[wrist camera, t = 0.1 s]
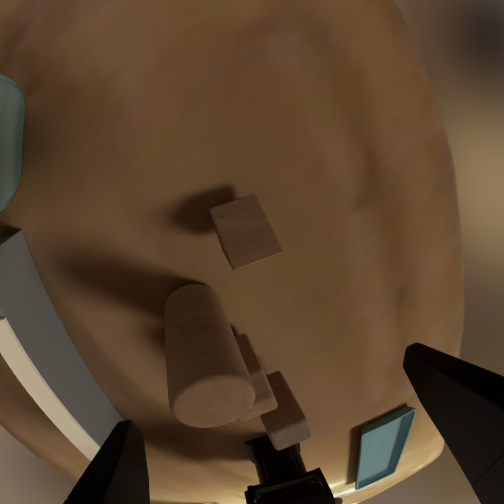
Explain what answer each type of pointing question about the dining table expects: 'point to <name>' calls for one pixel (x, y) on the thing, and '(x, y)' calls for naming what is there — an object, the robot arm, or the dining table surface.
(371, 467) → the shallow long dish
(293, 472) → the robot arm
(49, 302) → the board
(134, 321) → the dining table surface
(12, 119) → the flower pot
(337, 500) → the ball on wooden stand
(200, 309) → the wooden block set
